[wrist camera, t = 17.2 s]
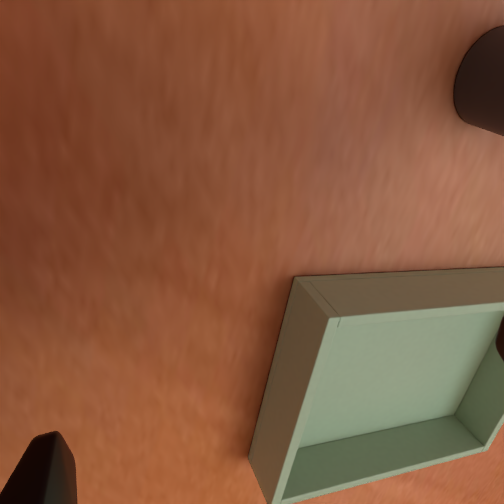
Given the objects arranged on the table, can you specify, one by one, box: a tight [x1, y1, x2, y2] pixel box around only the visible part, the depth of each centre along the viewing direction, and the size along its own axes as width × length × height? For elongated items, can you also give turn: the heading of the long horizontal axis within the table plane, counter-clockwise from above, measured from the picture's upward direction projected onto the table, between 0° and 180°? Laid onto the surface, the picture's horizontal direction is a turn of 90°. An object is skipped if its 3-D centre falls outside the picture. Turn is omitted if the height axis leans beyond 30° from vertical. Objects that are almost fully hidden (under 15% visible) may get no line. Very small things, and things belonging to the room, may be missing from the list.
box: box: [248, 267, 504, 504], centre depth 28 cm, size 17×13×4 cm
